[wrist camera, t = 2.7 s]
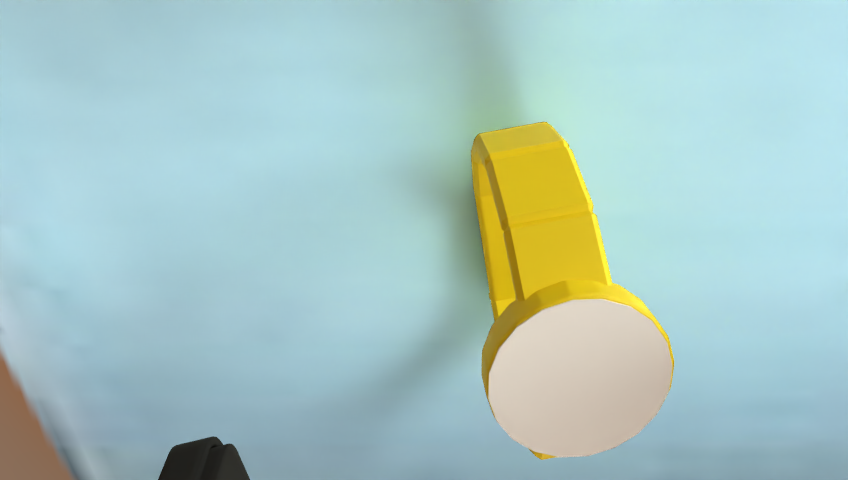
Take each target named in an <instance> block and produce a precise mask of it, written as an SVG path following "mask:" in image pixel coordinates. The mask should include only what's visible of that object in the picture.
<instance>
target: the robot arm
mask: <svg viewBox="0 0 848 480" xmlns="http://www.w3.org/2000/svg"><path fill="white" fill-rule="evenodd" d="M158 480H250V479H249V476H248V474H247V472H246V470H245V467H244V465H243V463H242V461H241V458H240V456H239V454H238V452H237V450H236V448H235V446H234V445H232V444H226V445H223V444H222V442H221V441H220V440H219V439H218V438H217V437H209V438H205V439H201V440H196V441H192V442H188V443H184V444H179V445H176V446H174V447H173V448H172V449H171V451H170V452H169V454H168V457H167V459H166V462H165V464H164V467H163V469H162V471H161V474H160V476H159V479H158Z"/></svg>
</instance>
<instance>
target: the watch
mask: <svg viewBox="0 0 848 480" xmlns="http://www.w3.org/2000/svg"><path fill="white" fill-rule="evenodd" d="M471 162H472V177H473V189H474V194H475V201H476V207H477V214H478V220H479V226H480V233H481V239H482V246H483V252H484V259H485V265H486V272H487V278H488V285H489V291H490V293H489V298H490V300H491V305H492V310H493V315H494V320H495V322H494V324H493V325H492V327H491V329H490V331H489V334H488V337H487V339H486V342H485V344H484V347H483V350H482V379H483V383H484V387H485V392H486V396H487V399H488V402H489V404H490V407H491V410H492V413H493V415H494V417H495V419H496V421H497V422H498V423H499V424H500V426H501V427H502V428H503V429H504V430H505V431H506V432H507V434H508V435H509V436H510V437H511V438H512V439H513V440H515V441H517V442H518V443H520V444H522V445H524V446H525V447H527V448H528V449H529V450H530V451H531V452H532V453H533V454H534V455H535V456H537V457H538V458H539V459H541V460H543V459H549V458H554V457H577V456H589V455H592V454H596V453H599V452H602V451H606V450H609V449H612V448H615V447H617V446H618V445H620V444H622V443H623V442H625V441H627V440H628V439H630V438H632V437H633V436H635V435H636V434H638V433H639V432H640V431H641V430H642V429H643V428H644V427H645V426H646V425H647V424H648V423H649V422H650V421H651V420H652V419H653V418H654V417H655V416H656V415H657V413H658V411H659V410H660V408H661V406H662V404H663V402H664V400H665V398H666V396H667V394H668V392H669V390H670V388H671V383H672V376H673V369H674V358H673V354H672V349H671V345H670V341H669V337H668V335H667V334H666V332H665V331H664V330H663V328H662V327H661V325H660V324H659V322H658V321H657V320H656V318H655V317H654V316H653V314H652V313H651V312H650V310H649V309H648V308H647V307H646V305H645V304H644V303H643V301H642V300H641V299H639V298H638V297H636V296H635V295H633V294H632V293H630V292H629V291H627V290H626V289H625V288H623V287H621V286H620V285H618V284H614V283H612V280H611V276H610V271H609V267H608V263H607V258H606V254H605V250H604V246H603V241H602V237H601V233H600V228H599V224H598V220H597V216H596V215H595V214H594V213H593V203H592V200H591V198H590V195H589V193H588V190H587V188H586V185H585V182H584V180H583V177H582V175H581V172H580V170H579V167H578V165H577V162H576V159H575V157H574V154H573V152H572V150H571V149H569V144H568V143H567V142H566V141H565V140H564V139H563V138H562V137H561V136H560V135H559V133H558V132H557V131H556V130H555V129H554V128H553V127H552V126H551V125H550V124H548V123H547V122H540V123H534V124H529V125H523V126H518V127H512V128H507V129H502V130H496V131H491V132H485V133H480V134H478V135H477V136H476V138H475V139H474V142H473V146H472V150H471Z"/></svg>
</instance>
